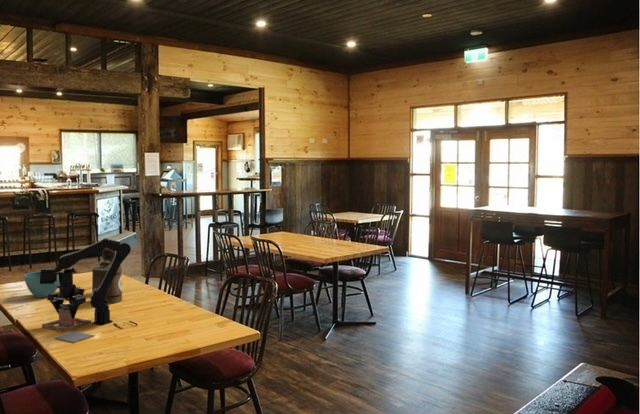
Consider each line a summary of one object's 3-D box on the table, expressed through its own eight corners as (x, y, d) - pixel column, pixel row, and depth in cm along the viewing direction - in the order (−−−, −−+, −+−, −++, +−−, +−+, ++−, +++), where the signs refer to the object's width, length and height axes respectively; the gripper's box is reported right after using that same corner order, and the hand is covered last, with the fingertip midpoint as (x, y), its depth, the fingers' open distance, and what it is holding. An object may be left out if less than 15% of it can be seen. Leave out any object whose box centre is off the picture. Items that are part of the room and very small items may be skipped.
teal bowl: (51, 300, 292) (50, 277, 291) (17, 299, 292) (17, 277, 291) (67, 292, 310) (67, 271, 309) (36, 292, 311) (35, 270, 310)
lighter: (77, 325, 247) (76, 303, 246) (71, 327, 244) (71, 305, 243) (62, 324, 249) (61, 302, 248) (56, 326, 246) (56, 304, 245)
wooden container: (127, 301, 292) (126, 260, 291) (100, 306, 281) (99, 263, 280) (113, 296, 302) (113, 257, 301) (87, 301, 291) (86, 260, 290)
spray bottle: (113, 289, 319) (112, 246, 317) (122, 292, 313) (121, 248, 311) (96, 292, 311) (95, 248, 309) (105, 295, 305) (104, 250, 303)
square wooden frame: (91, 324, 250) (91, 320, 249) (64, 332, 237) (64, 329, 237) (69, 319, 256) (69, 316, 256) (42, 327, 243) (41, 324, 243)
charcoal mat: (94, 336, 232) (94, 335, 232) (74, 343, 223) (74, 341, 223) (74, 332, 237) (74, 331, 237) (54, 338, 228) (54, 337, 228)
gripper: (95, 281, 248) (96, 315, 249) (67, 277, 256) (68, 310, 257) (74, 286, 238) (75, 321, 239) (45, 282, 246) (46, 316, 248)
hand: (66, 317), depth 246 cm, fingers closed on lighter, 8 cm apart
